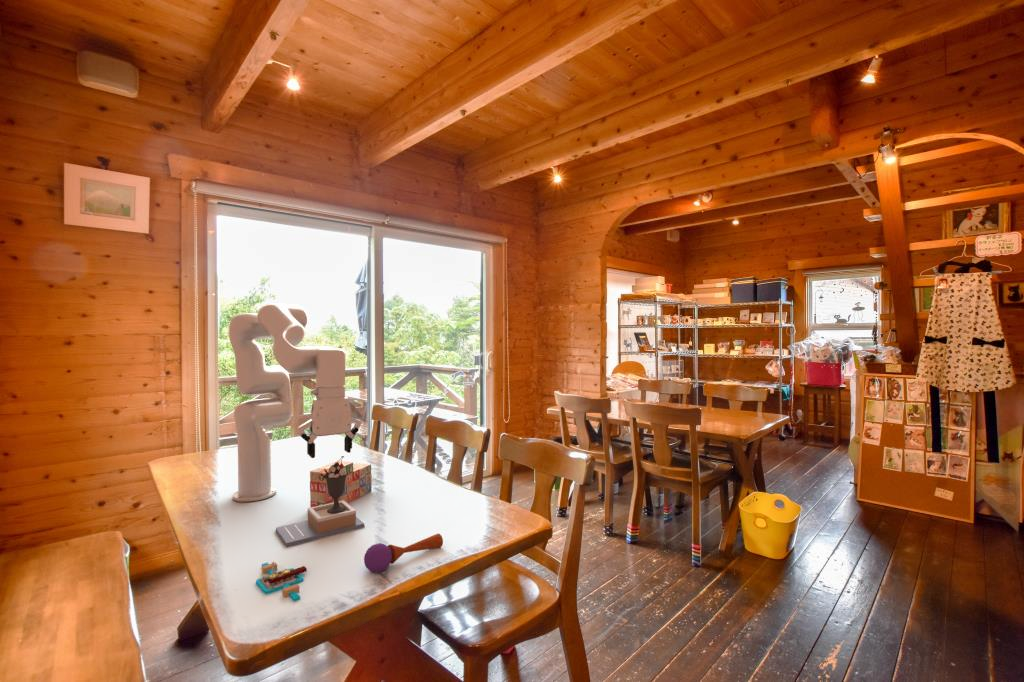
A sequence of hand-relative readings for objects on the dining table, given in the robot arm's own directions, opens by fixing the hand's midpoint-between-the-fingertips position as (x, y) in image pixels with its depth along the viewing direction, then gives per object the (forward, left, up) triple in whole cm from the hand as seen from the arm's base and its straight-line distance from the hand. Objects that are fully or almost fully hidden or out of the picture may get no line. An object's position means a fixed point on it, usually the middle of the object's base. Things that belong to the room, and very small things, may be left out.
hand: (330, 454), depth 132 cm
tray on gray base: (+1, -3, -20) cm, 20 cm away
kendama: (+31, +8, -21) cm, 38 cm away
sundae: (0, +2, -16) cm, 16 cm away
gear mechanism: (+24, -17, -21) cm, 36 cm away
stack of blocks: (-18, +10, -21) cm, 29 cm away
